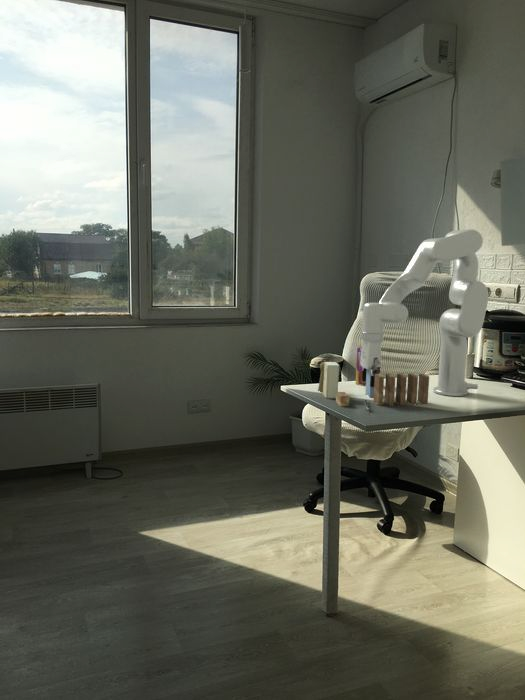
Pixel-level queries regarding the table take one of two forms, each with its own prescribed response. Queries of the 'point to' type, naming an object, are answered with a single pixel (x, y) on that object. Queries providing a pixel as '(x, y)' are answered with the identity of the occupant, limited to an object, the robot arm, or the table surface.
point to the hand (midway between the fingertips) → (370, 384)
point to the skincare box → (330, 379)
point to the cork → (321, 377)
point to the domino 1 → (369, 389)
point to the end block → (342, 399)
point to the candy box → (359, 368)
